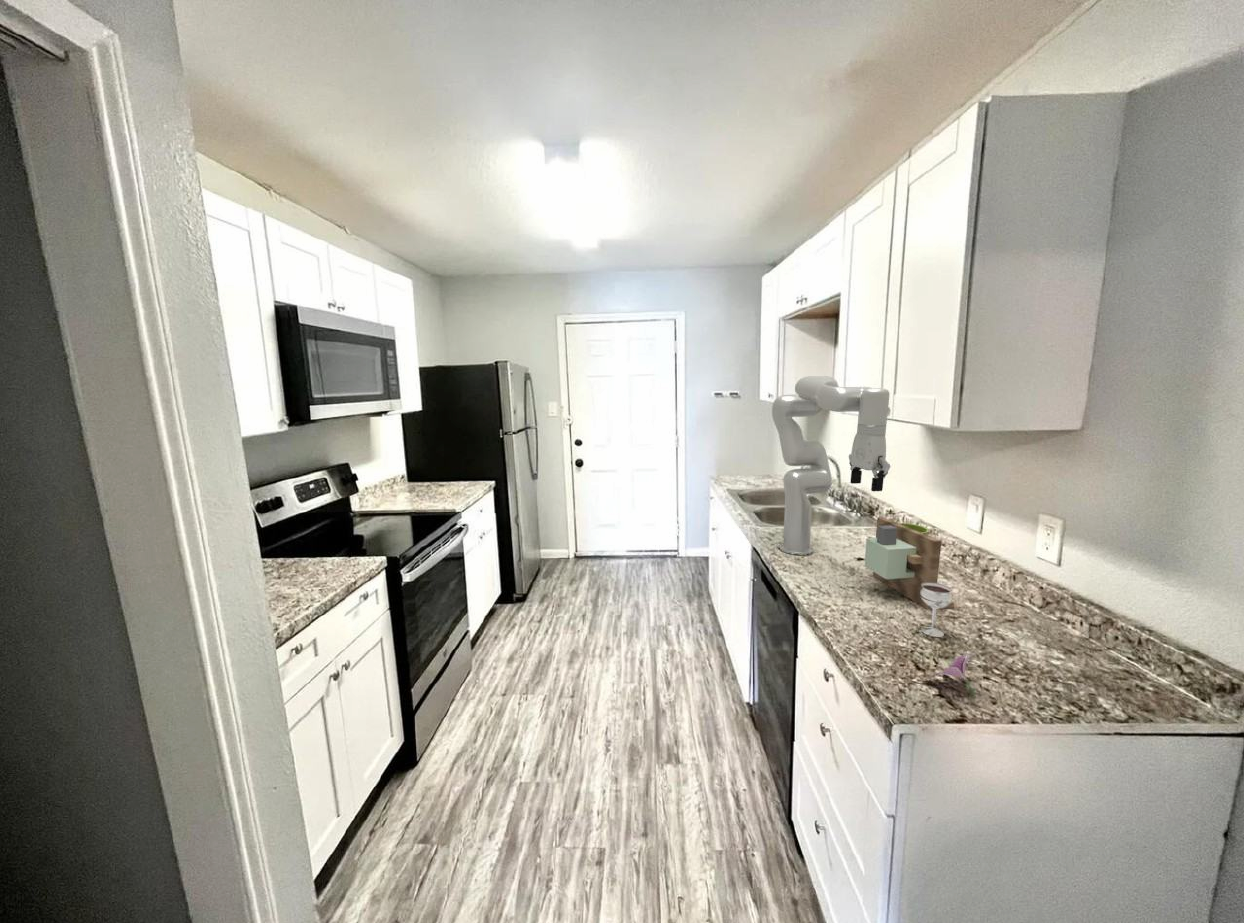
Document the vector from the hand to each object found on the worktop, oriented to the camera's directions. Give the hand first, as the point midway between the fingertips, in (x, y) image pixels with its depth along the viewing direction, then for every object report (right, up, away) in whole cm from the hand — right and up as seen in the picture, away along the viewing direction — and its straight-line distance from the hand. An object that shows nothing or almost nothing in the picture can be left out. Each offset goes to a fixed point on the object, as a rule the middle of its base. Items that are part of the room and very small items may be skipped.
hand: (865, 487), depth 141 cm
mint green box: (+7, -25, 0) cm, 26 cm away
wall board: (+14, -32, +2) cm, 35 cm away
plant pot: (+31, -28, +30) cm, 51 cm away
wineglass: (+6, -36, -21) cm, 42 cm away
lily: (-4, -40, -43) cm, 59 cm away
